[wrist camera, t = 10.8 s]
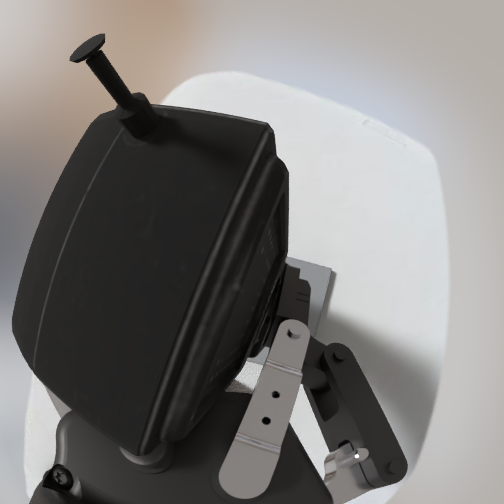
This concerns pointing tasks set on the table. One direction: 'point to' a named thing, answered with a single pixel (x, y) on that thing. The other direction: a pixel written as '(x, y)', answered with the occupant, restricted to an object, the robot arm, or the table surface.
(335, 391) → the robot arm
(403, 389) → the table surface
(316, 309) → the slate mat
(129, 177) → the portable radio
